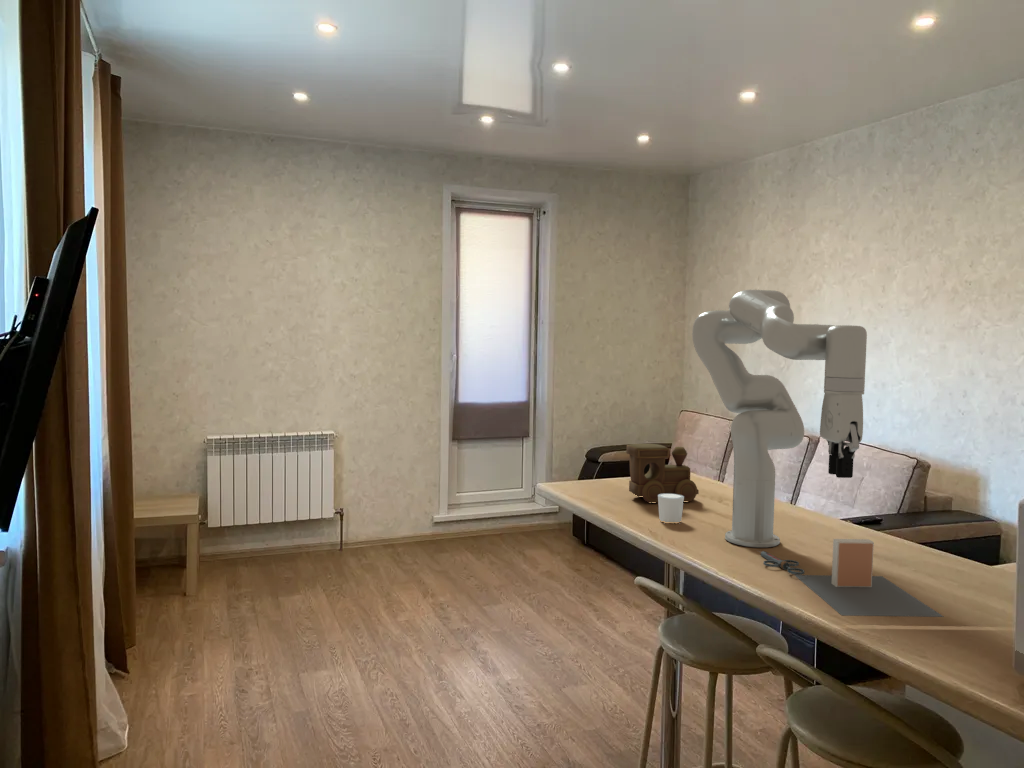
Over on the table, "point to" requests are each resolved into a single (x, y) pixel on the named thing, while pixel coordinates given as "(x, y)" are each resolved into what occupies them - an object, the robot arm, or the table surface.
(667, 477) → the wooden toy train
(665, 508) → the white short tapered cylinder
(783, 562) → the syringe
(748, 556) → the table surface
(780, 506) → the table surface
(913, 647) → the table surface
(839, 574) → the tile
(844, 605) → the mat
